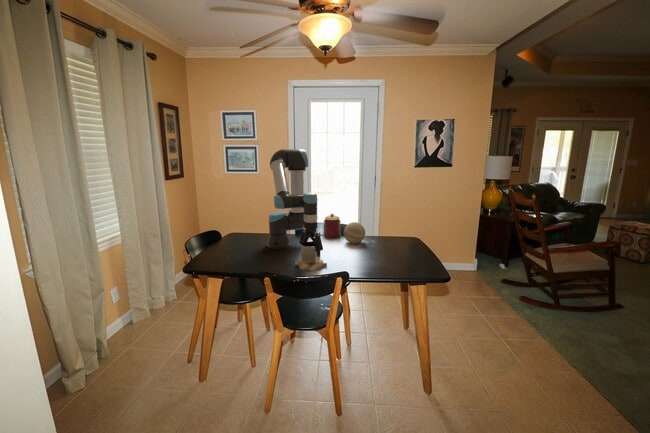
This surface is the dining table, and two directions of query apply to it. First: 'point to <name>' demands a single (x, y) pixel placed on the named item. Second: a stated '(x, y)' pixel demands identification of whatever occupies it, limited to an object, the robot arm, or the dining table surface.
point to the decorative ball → (354, 232)
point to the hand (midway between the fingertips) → (310, 259)
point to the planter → (308, 252)
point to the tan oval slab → (310, 265)
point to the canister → (332, 226)
